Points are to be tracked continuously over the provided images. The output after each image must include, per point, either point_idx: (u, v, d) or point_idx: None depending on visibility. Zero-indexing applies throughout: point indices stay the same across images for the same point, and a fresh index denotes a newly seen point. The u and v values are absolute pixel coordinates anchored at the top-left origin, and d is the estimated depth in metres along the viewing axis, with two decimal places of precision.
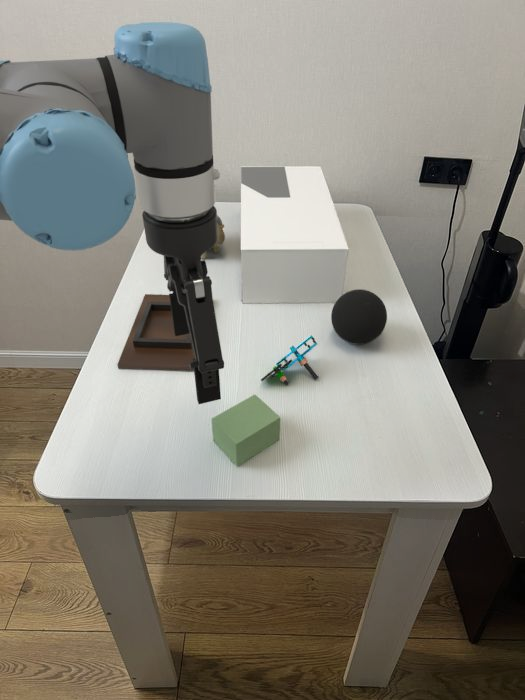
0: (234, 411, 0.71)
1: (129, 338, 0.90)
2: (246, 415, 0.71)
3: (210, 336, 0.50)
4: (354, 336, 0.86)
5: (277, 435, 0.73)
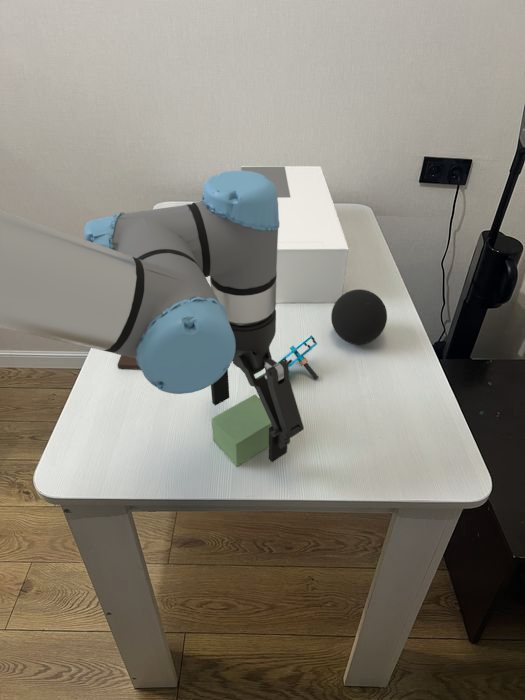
0: (234, 411, 0.71)
1: None
2: (246, 415, 0.71)
3: (292, 408, 0.60)
4: (354, 336, 0.86)
5: None
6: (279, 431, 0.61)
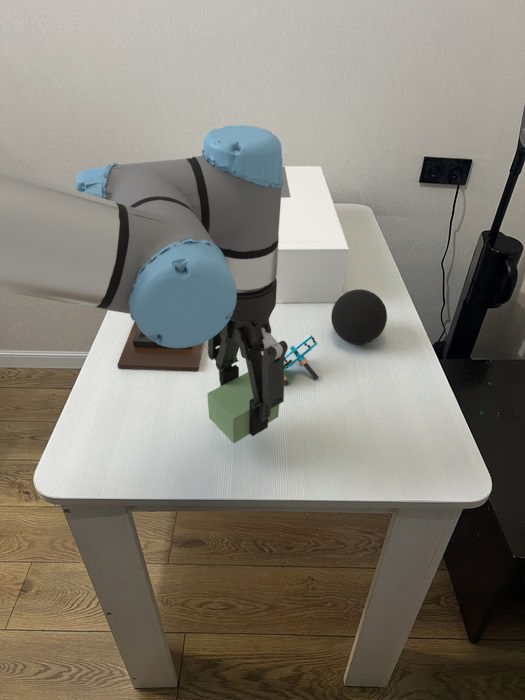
0: (231, 386, 0.68)
1: (129, 338, 0.90)
2: (244, 390, 0.67)
3: (278, 384, 0.59)
4: (354, 336, 0.86)
5: (276, 412, 0.69)
6: (259, 404, 0.62)
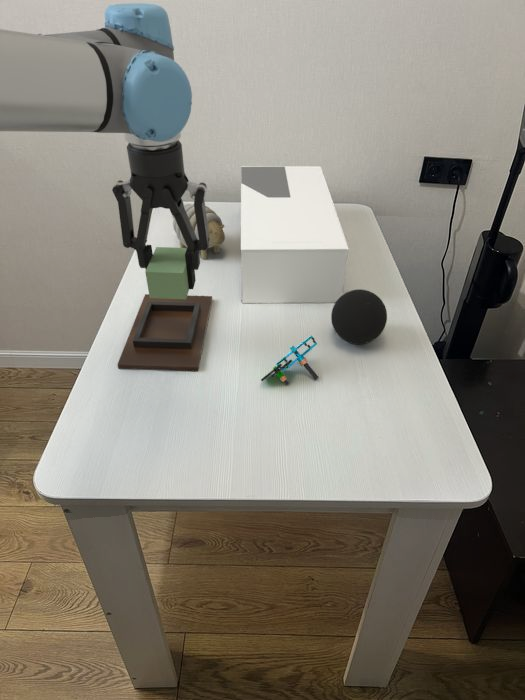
0: (155, 260, 0.79)
1: (129, 338, 0.90)
2: (168, 258, 0.79)
3: (206, 223, 0.75)
4: (354, 336, 0.86)
5: None
6: (196, 250, 0.77)
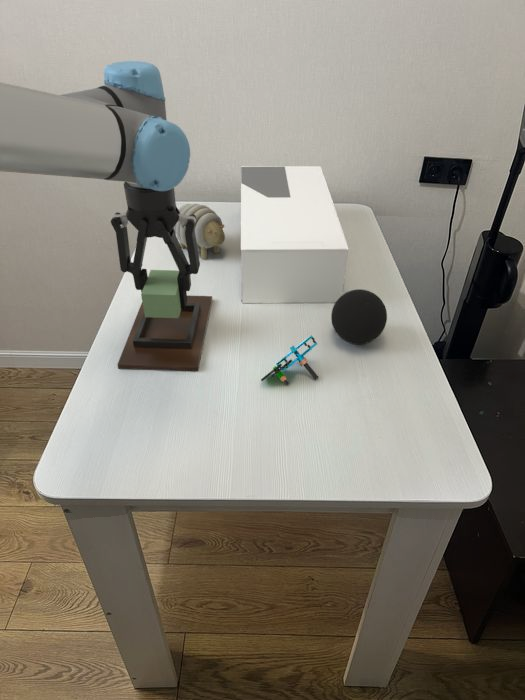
0: (150, 283, 0.86)
1: (129, 338, 0.90)
2: (161, 280, 0.87)
3: (196, 249, 0.83)
4: (354, 336, 0.86)
5: None
6: (187, 274, 0.84)
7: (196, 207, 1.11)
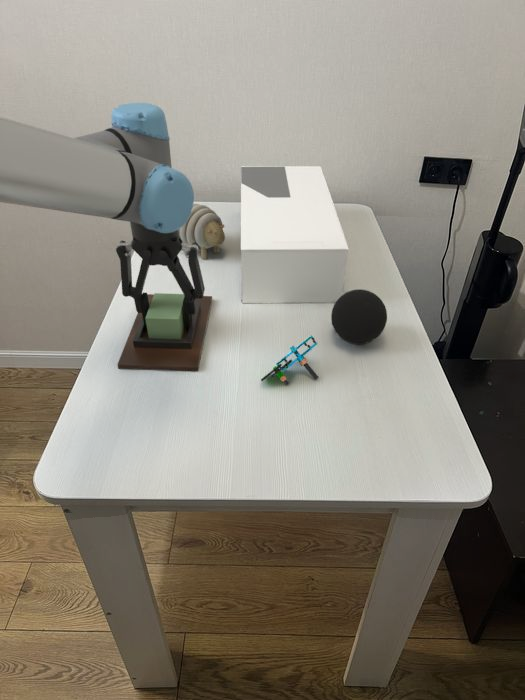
0: (154, 307, 0.89)
1: (129, 338, 0.90)
2: (165, 304, 0.90)
3: (200, 275, 0.86)
4: (354, 336, 0.86)
5: None
6: (193, 298, 0.87)
7: (196, 207, 1.11)
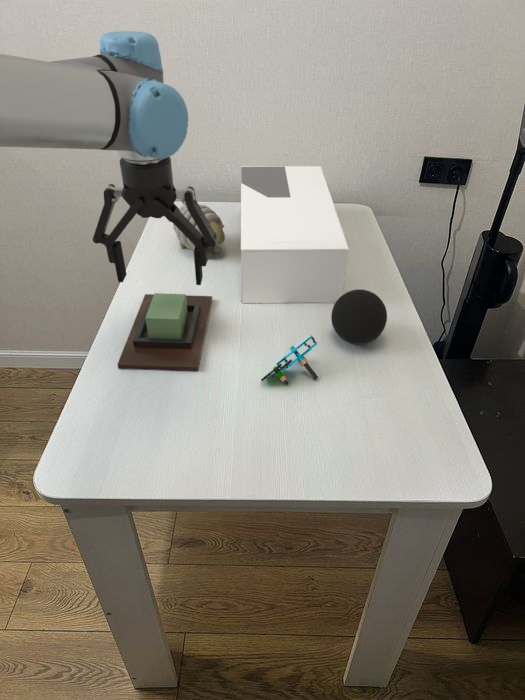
0: (154, 307, 0.89)
1: (129, 338, 0.90)
2: (165, 304, 0.90)
3: (206, 222, 0.79)
4: (354, 336, 0.86)
5: (187, 311, 0.95)
6: (204, 246, 0.80)
7: None
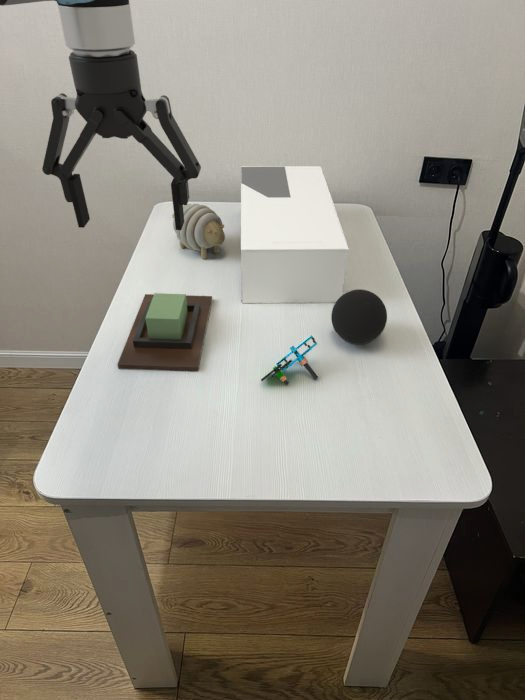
0: (154, 307, 0.89)
1: (129, 338, 0.90)
2: (165, 304, 0.90)
3: (186, 144, 0.62)
4: (354, 336, 0.86)
5: (187, 311, 0.95)
6: (184, 177, 0.63)
7: (196, 207, 1.11)
